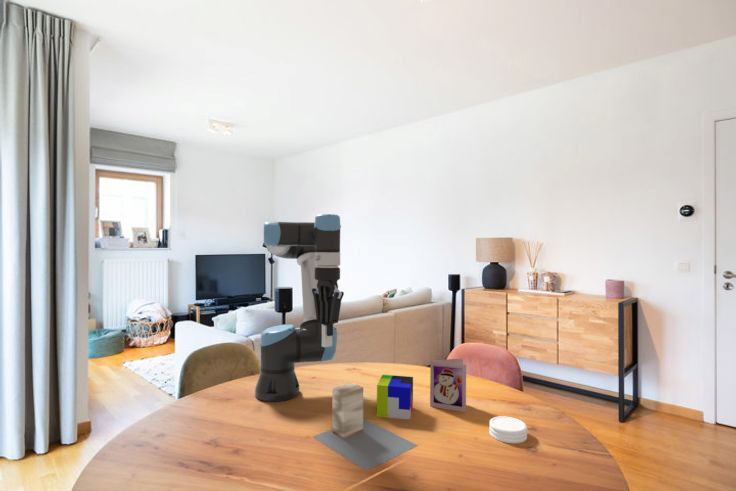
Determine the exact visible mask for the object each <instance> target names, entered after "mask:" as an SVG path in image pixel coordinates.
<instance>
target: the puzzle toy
mask: <svg viewBox="0 0 736 491" xmlns="http://www.w3.org/2000/svg"><path fill="white" fill-rule="evenodd" d="M378 380H379V381H378V383H377V385H376V417H378V418H390V419H399V420H411V417H412V412H413V409H414V405H413V404H414V376H404V375H392V374H381V376H380V379H378Z"/></svg>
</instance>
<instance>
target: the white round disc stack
mask: <svg viewBox="0 0 736 491" xmlns="http://www.w3.org/2000/svg"><path fill="white" fill-rule="evenodd" d="M488 423H489V426H488V427H489V432H488V433H489V435H490V436H491V437H492V438H493V439H495V440H497V441H499V442H502V443H505V444H521V443H524V442H526V441H527V439H528V426H527V424H526V423H525V422H524V421H522V420H521V419H518V418H515V417H512V416H504V415H502V416H501V415H500V416H494V417H492V418H490V419H489V422H488Z"/></svg>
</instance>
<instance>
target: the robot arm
mask: <svg viewBox="0 0 736 491" xmlns="http://www.w3.org/2000/svg"><path fill="white" fill-rule="evenodd" d="M341 228H342V225H341V217H340V216H339V215H338V214H334V213H333V214H332V213H331V214H328V213H324V214H323V213H322V214H321V213H320V214H316V216H315V217H314V221H313V222H311V221H309V222H308V221H307V222H306V221H305V222H303V221H302V222H301V221H300V222H299V221H298V222H293V221H291V222H290V221H266V222H264V223H263V244H264V245H265V247H266V250H267V251H268V252H269V253H270V254H271V255H273V256H275V257H279V258H282V259H289V260H290V259H293V260H296V263H297V265H299V266H300V269H301V270H300V273H301V274H300V275H301V292H302V293H301V294H302V313H303V321H302V322H301V323H300V324H299V328H296V327H295V325H294V324H280V325H274V326H270V327H268V328H266V329H264V330H263V331H262V332H261V335H260V342H259V346H260V369H259V370H260V372H259V376H258V379H257V382H256V386H255V389H254V396H255V398H256V399H258V400H260V401H264V402H283V401H288V400H291V399H294V398H295V397H297V396H298V395H299V394H300V383H299V381H298V377H297V375H296V371H295V364H298V363H299V364H301V363H313V362H320V363H322V362H326V361H331V360H333V359H334V358H335V354H336V351H337V343H338V330H337V327H335V326H334V325H335V324H338V323H339V319H340V318H339V317H340V313H341V306H342V300H343V298H344V295H345V294H344V291H341V290H340V289H339V285H338V281H339V280H341V268H340V267H339V266H340V265H341Z"/></svg>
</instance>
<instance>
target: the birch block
mask: <svg viewBox="0 0 736 491" xmlns="http://www.w3.org/2000/svg"><path fill="white" fill-rule="evenodd" d="M331 389H332V405H331V406H332V407H331V408H332V409H331V410H332V412H331V415H332V416H331V417H332V418H331V419H332V420H331V421H332V423H331V425H332V428H331V430H332V433H334V434H336V435H338V436H339V437H341V438H343V439H344V438H347V437H349V436H352V435H354V434H357V433H359V432H362V431H363V418H364V387H363V386H361V385H358V384H356V383H354V382H350V383H346V384H342V385H338V386H335V387H332V388H331Z"/></svg>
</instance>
